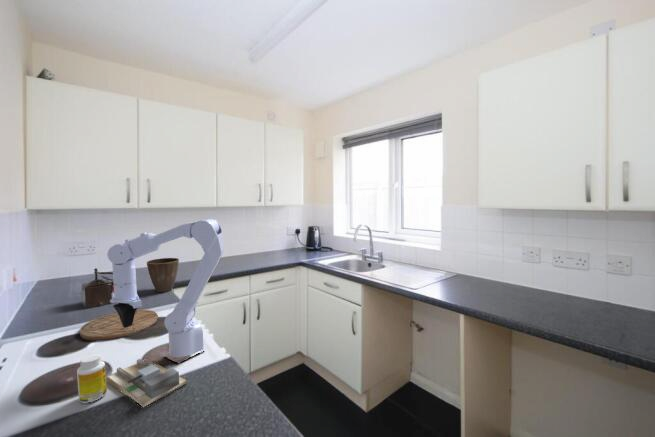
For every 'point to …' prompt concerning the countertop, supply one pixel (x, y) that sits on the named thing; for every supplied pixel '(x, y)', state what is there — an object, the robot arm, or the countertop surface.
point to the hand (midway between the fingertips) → (127, 326)
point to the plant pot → (163, 273)
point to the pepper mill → (97, 291)
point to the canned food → (110, 282)
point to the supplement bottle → (91, 378)
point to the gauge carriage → (146, 373)
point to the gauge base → (150, 388)
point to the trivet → (116, 326)
